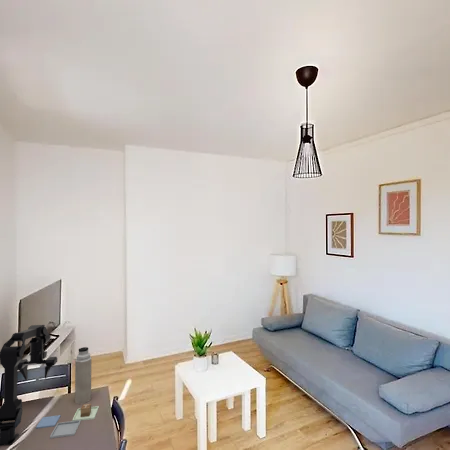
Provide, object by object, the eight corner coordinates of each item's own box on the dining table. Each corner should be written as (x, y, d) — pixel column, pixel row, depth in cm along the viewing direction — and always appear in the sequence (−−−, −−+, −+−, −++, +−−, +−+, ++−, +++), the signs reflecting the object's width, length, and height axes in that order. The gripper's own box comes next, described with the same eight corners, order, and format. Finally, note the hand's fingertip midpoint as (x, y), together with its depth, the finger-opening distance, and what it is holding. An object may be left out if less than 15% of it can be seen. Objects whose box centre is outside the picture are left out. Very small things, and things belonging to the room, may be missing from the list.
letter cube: (89, 416, 149) (89, 407, 149) (80, 417, 148) (80, 408, 148) (91, 411, 153) (91, 403, 153) (82, 412, 152) (82, 404, 152)
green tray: (94, 419, 146) (94, 417, 146) (72, 422, 144) (72, 420, 144) (98, 408, 156) (98, 406, 156) (78, 410, 154) (78, 408, 154)
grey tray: (74, 436, 134) (74, 433, 134) (49, 439, 132) (49, 436, 133) (80, 422, 144) (80, 420, 144) (57, 425, 142) (57, 422, 142)
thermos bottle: (80, 396, 168) (80, 345, 170) (94, 396, 168) (94, 345, 169) (71, 404, 160) (72, 350, 162) (86, 404, 160) (86, 351, 161)
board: (54, 427, 141) (54, 424, 141) (35, 429, 140) (35, 427, 140) (60, 417, 149) (60, 415, 149) (42, 419, 147) (42, 417, 147)
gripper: (60, 342, 170) (60, 371, 169) (24, 345, 166) (23, 374, 165) (53, 349, 159) (53, 379, 158) (14, 352, 155) (13, 383, 154)
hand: (36, 379), depth 159 cm, fingers open, 9 cm apart
